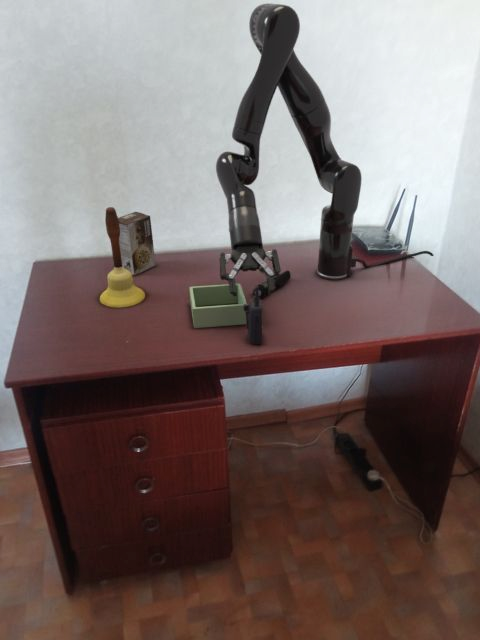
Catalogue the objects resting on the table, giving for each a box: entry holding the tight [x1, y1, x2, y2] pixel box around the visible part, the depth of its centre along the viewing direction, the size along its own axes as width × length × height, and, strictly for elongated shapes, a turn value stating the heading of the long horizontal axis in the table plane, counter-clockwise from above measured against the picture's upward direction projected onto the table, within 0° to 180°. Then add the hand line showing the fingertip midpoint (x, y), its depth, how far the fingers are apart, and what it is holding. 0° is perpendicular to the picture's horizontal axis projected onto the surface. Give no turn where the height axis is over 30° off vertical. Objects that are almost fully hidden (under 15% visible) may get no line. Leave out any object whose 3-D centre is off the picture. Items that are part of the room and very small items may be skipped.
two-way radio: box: [243, 285, 263, 345], centre depth 130 cm, size 6×4×15 cm
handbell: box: [99, 206, 146, 308], centre depth 145 cm, size 12×12×25 cm
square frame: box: [188, 283, 248, 329], centre depth 143 cm, size 14×13×6 cm
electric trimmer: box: [252, 269, 291, 300], centre depth 157 cm, size 4×16×3 cm, turn 143°
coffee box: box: [118, 211, 156, 276], centre depth 164 cm, size 9×6×16 cm
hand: (253, 294), depth 129 cm, fingers open, 8 cm apart
